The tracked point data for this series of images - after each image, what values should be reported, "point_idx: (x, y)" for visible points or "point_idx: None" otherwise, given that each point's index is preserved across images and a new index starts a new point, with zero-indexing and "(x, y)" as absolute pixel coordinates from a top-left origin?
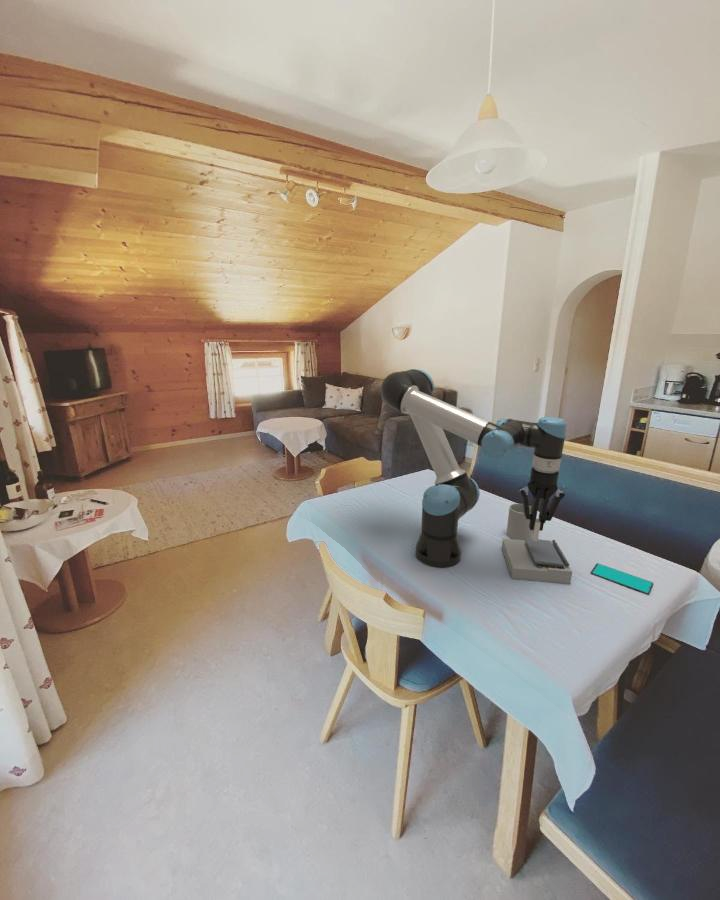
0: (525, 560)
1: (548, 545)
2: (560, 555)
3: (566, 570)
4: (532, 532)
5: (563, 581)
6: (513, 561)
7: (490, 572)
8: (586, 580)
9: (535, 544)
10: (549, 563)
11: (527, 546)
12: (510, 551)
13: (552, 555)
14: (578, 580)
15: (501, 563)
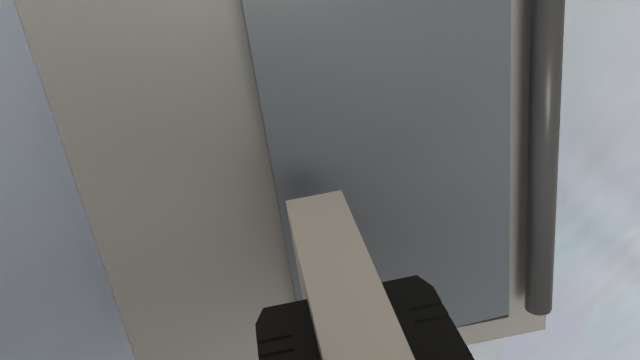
0: (238, 276)
1: (469, 49)
2: (528, 193)
3: (510, 330)
4: (303, 290)
5: None
6: (145, 317)
7: (8, 325)
8: (614, 205)
9: (341, 87)
10: None
11: (261, 111)
12: (107, 179)
13: (460, 223)
14: (565, 221)
15: (66, 193)
